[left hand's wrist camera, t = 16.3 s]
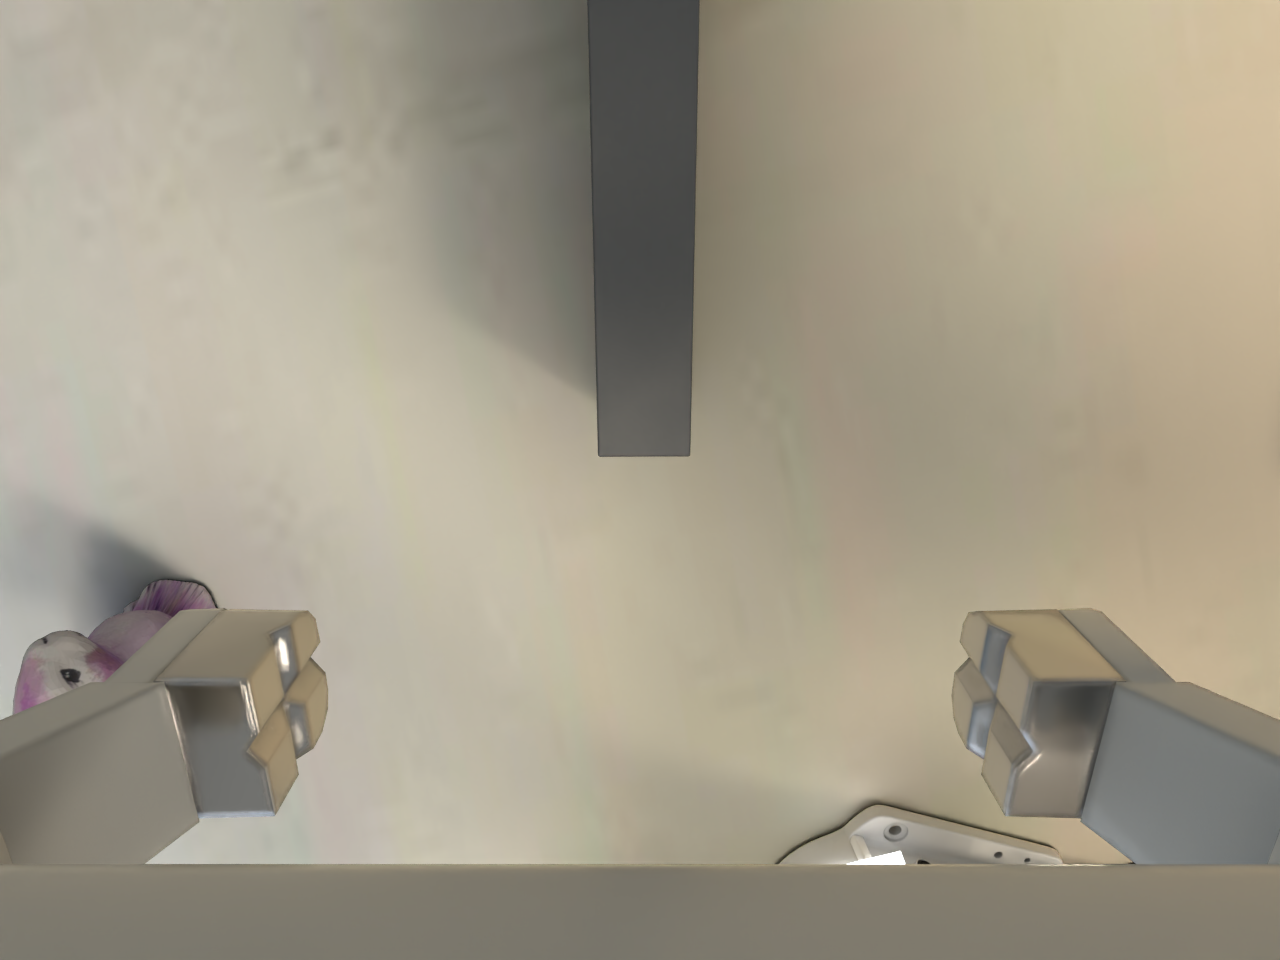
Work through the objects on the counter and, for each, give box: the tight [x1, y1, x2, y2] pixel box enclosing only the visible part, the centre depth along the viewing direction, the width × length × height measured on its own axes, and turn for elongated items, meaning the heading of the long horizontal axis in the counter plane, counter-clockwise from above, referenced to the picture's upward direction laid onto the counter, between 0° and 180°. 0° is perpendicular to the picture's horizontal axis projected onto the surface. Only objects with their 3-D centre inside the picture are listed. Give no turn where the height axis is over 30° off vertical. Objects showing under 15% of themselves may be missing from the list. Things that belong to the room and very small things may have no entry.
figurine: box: [13, 580, 217, 715], centre depth 44 cm, size 9×10×15 cm
